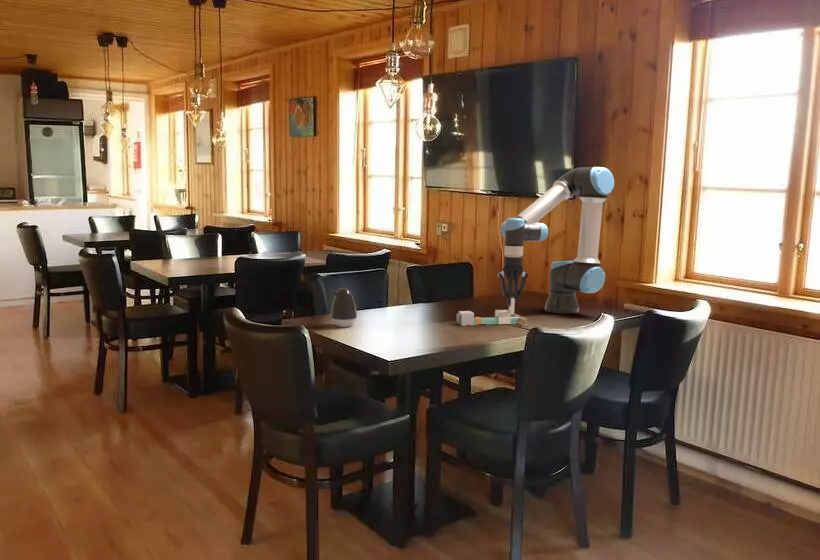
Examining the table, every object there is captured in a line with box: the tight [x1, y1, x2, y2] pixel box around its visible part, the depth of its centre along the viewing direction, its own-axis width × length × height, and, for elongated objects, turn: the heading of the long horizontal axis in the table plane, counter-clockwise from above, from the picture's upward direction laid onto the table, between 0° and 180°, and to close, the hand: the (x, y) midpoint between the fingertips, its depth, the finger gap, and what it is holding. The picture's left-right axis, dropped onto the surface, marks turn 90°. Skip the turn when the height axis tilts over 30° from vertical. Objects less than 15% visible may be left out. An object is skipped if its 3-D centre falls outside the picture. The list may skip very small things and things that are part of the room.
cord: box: [456, 310, 518, 327], centre depth 289 cm, size 27×5×5 cm, turn 101°
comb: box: [511, 313, 529, 327], centre depth 292 cm, size 2×14×3 cm, turn 11°
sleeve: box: [494, 309, 512, 325], centre depth 290 cm, size 5×5×5 cm
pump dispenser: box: [330, 287, 358, 328], centre depth 279 cm, size 10×10×15 cm
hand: (511, 313), depth 291 cm, fingers closed
